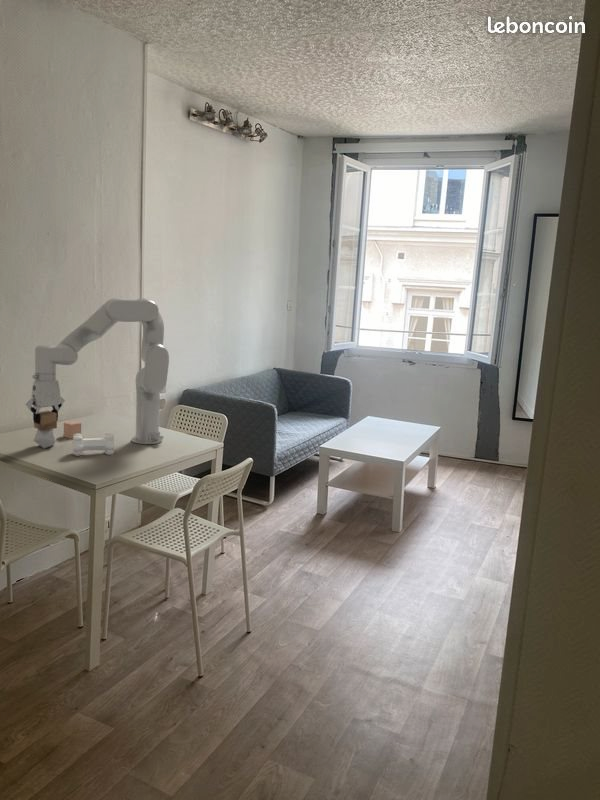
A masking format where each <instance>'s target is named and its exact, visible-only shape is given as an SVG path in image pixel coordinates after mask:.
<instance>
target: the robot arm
mask: <svg viewBox="0 0 600 800" xmlns="http://www.w3.org/2000/svg"><path fill="white" fill-rule="evenodd" d="M159 309H160V308H159V306H158V304H156V302H155V301H153V300H150V299H147V298H137V299H135V300H134V299H119V298H110V299H108V300H107V301H105V302H104V303H103V304H102V305H101V306H99V308H98V309H97V310H96V311H95V312H94V313H93V314H91V315H90V316H89V317H88V318H87V319H86V320H85V321H84V322H83V323H81V324H80V325H79V326H78V327H76V328H75V329H74V330H73V331H71V332H70V333H69V334H68V335H67V336H65V338H63V339H62V340H61V341H60V342H59V343H58V345H56V346H55V345H50V344H38V345H36V347H35V348H34V375H33V374H32V379H33V383H32V387H31V397H30V399H29V400H28V401H27V402H26V403H25V406H26V408H28V409H29V410H30V412H31V413H32V414H33V415H32V418H33V419H32V420H33V424H34V423H37V424H40V414H39V412H41V409H42V408H49V407H51V408H52V410H51V412H54V413H57V422H58V420H59V419H58V418H59V411H60V409H61V408H62V406H63V404H64V403H65V401H66V400H65V399H64V398H63V397H62V396H61V389H60V383H59V380H57V365H61V366H72V365H74V364H75V363H76V362H77V361H78V357H79V355H78V352H80V351H81V350H82V349H83V348H84V347H85V346H87V345H89V343H92V342H95V341H98V340H99V339H101V338H103V336H104V335H106V333H107V332H108V331H110V329H112V327H113V326H115V325H116V323H118V322H122V323H123V322H124V323H125V322H126V323H131V322H132V323H134V322H135V323H136V322H138V323H139V322H141V325H142V338H141V339H142V341H141V346H140V348H141V349H140V358H141V360H142V361H143V362H144V367H142V368H141V369H138V372H137V373H136V377H135V391H136V403H135V405H136V406H135V407H136V408H135V435H134V436H132V437H131V441H132V443H134V444H140V445H155V444H160V443H162V442H163V440H164V437H165V436H163V435H161V431H160V406H161V404H160V402H161V401H160V399H161V398H160V393H161V392H163V391H164V389H166V385H167V381H168V373H169V365H170V364H169V363H170V355H169V351H168V350H167V348H166V347H165V346H164V337H165V336H164V335H165V325H164V324H165V323H164V320H163V317H162V315H161V313H160V311H159Z"/></svg>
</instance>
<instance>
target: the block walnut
mask: <svg viewBox="0 0 600 800" xmlns="http://www.w3.org/2000/svg"><path fill="white" fill-rule="evenodd" d="M51 411H52V410H51ZM51 411H50V410H42V411H41V410H40V411H39V414H40V424H37V423H34V422H33V428H35V429H37V430H38V429H40V430H42V431H44V430H49V429H53V430H54V429H57V428H58V426H57V425H58V421H57V413H54V412H51Z"/></svg>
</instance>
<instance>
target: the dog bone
mask: <svg viewBox="0 0 600 800" xmlns="http://www.w3.org/2000/svg"><path fill="white" fill-rule="evenodd" d="M115 446H116V445H115V435H114V434H113V433H112V432H106V433H105V434H104V437H97V438H96V437H95V438H90V437H89V438H85V437H84V438H83V434H82V433H81V434H74V435H73V438H72V453H73V456H75V457H80V456H82V455H83V452H84V451H104V453H105V455H107V456H110V455H114V453H115Z"/></svg>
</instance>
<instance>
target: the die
mask: <svg viewBox="0 0 600 800" xmlns="http://www.w3.org/2000/svg"><path fill="white" fill-rule="evenodd" d="M58 435H59V434H58V432H56V430H54V429H49V430H44V431H42V430H40V429H37V431H36V433H35V435H34V439H33V440H32V441H33V442H35V444H37V445H39V446H40V447H42V448H43V449H48V448H51V447H53V446H54V445H55V443H56V441H57V438H58Z"/></svg>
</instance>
